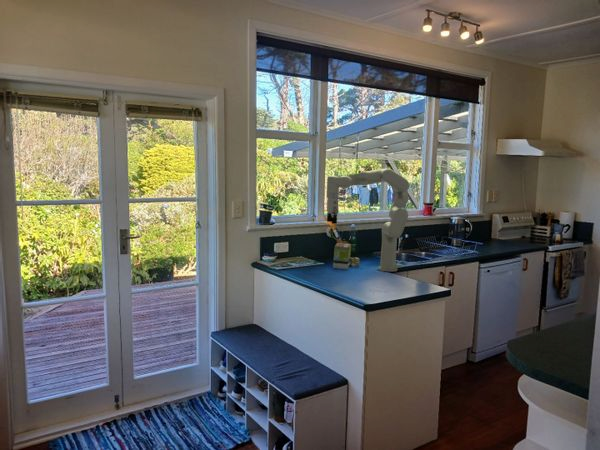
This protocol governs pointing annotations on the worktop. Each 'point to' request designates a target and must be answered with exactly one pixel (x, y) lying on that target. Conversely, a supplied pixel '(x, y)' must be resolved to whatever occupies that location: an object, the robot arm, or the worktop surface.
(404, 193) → the robot arm
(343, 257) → the tea box
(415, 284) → the worktop surface
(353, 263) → the birch block
